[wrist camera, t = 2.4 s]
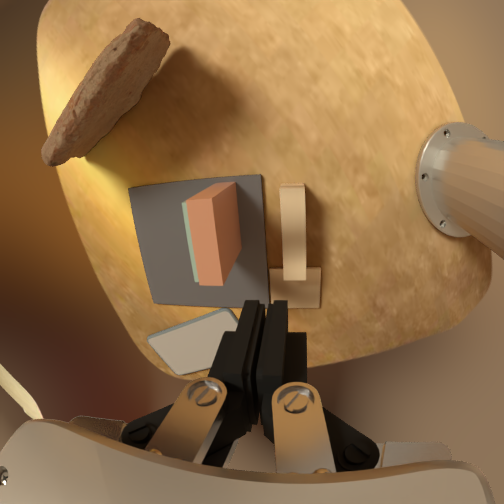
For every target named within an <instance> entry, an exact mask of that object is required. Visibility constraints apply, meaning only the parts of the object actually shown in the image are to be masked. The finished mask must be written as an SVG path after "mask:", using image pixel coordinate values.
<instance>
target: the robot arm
mask: <svg viewBox="0 0 504 504" xmlns="http://www.w3.org/2000/svg"><path fill="white" fill-rule="evenodd" d="M444 133H445V134H444ZM422 175H423V178H422ZM415 183H416V192H417V196H418V201H419V203H420V206H421V208H422V211H423V212H424V214H425V215H426V217H427V219H428V220H429V221H430V222H431V223H432V224H433V225H434V226H435V227H436V228H437V229H439V230H440V231H441V232H443V233H445V234H447V235H449V236H453V237H467V236H471V235H472V236H473V237H475V238H476V239H477V240H479V241H480V242H482V243H483V244H484V245H486V246H487V247H488V248H490V249H491V250H492V251H494V252H495V253H496V254H497V255H499V256H500V257H501V258H503V259H504V141H499V140H491V139H489V138H488V137H487V136H486V135H485V134H484V133H483V132H482V131H481V130H479V129H478V128H476V127H475V126H473V125H470V124H467V123H462V122H452V123H447V124H444V125H441V126H440V127H438V128H437V129H435V130H434V131H433V132H432V133H431V134H430V135H429V136H428V137H427V139H426V140H425V142H424V144H423V145H422V147H421V150H420V153H419V155H418V159H417V164H416V172H415ZM440 222H441V223H440ZM259 412H260V418H261V425H263V428H264V435H265V436H266V437H267V438H268V439H269V440H270V441H271V442H272V443H273V444H274V452H275V468H276V473H266V472H253V471H242V470H234V469H227V467H228V465H229V463H230V461H231V458H232V456H233V454H234V451H235V449H236V447H237V444H238V440H239V438H240V437H242V436H243V435H245V434H246V432H247V431H249V432H251V428H252V424H254V425H257V423H258V418H259ZM451 459H452V456H451V452H450V449H449V448H448V446H446V445H445V444H443V443H441V442H385V444H376V443H374V442H373V441H372V440H371V439H369V438H368V437H366V436H365V435H363V434H362V433H360V432H359V431H357V430H356V429H354V428H353V427H351V426H350V425H348V424H346V423H345V422H344V421H342V420H341V419H339V418H338V417H336V416H335V415H333V414H332V413H331V412H329V411H328V410H326V409H325V408H324V407H322V404H321V400H320V396H319V394H318V392H317V390H316V389H315V388H314V387H313V386H311V385H308V384H307V336H306V332H288V300H274V302H273V304H268V309H267V315H265V304H260V301H259V300H245V302H244V305H243V309H242V312H241V315H240V318H239V322H238V325H237V328H236V331H225V332H224V333H223V336H222V339H221V341H220V344H219V347H218V350H217V352H216V355H215V358H214V361H213V363H212V366H211V369H210V372H209V374H208V377H203V378H198V379H195V380H193V381H191V382H190V383H188V384H187V385H186V387H185V388H184V389H183V391H182V392H181V394H180V395H179V397H178V399H177V400H176V402H175V403H173V404H171V405H169V406H167V407H164V408H162V409H160V410H158V411H155V412H153V413H150V414H148V415H146V416H143V417H141V418H138V419H136V420H133V421H132V422H130V423H128V424H126V423H125V422H124V421H119V420H109V419H101V418H94V417H87V416H78V417H75V418H74V419H72V420H71V421H70V422H69V423H67V422H63V421H59V420H52V419H34V420H30V421H27V422H26V423H24V424H23V425H22V426H20V427H19V428H18V429H17V431H16V432H15V433H14V434H13V435H12V437H11V438H10V439H9V440H8V442H7V443H6V445H5V446H4V448H3V449H2V451H1V452H0V504H495V501H494V497H493V494H492V490H491V487H490V485H489V482H488V480H487V478H486V476H485V474H484V473H483V472H482V470H481V469H480V468H479V467H477V466H476V465H473V464H471V463H467V462H463V461H454V460H451Z"/></svg>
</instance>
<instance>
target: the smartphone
mask: <svg viewBox="0 0 504 504" xmlns="http://www.w3.org/2000/svg"><path fill="white" fill-rule="evenodd" d="M238 322H239V320H238V319H237V317H236V316H235V315H234V313H233V312H232V310H230V309H229V308H221V309H219V310H216V311H213V312H211V313H208V314H205V315H203V316H200V317H198V318H195V319H192V320H190V321H187V322H184V323H182V324H179V325H176V326H174V327H171V328H168V329H166V330H163V331H160V332H158V333H155V334H152V335H149V336H148V338H147V342H148V343H149V344H150V346H151V347H152V348H153V349H154V350H155V351H156V353H157V354H158V355H159V356H160V357H161V358H162V359H163V361H164V362H165V363H166V364H167V365H168V366H169V367H170V368H171V369H172V371H173V372H174V373H175V374H177V375H184V374H188V373H193V372H197V371H201V370H205V369H209V368H211V366H212V363H213V361H214V358H215V355H216V352H217V350H218V347H219V344H220V341H221V339H222V336H223V333H224V332H225V331H236V328H237V325H238Z"/></svg>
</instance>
